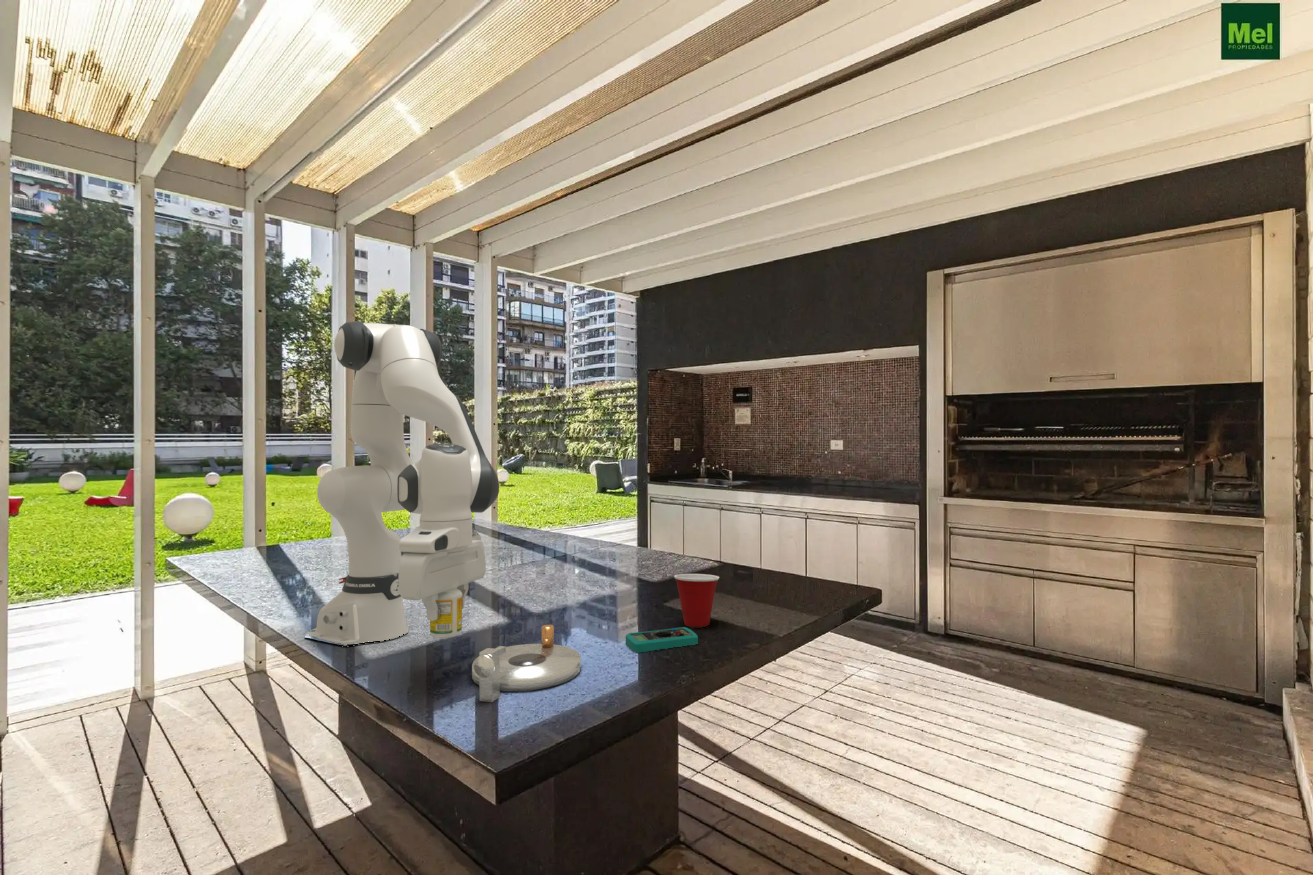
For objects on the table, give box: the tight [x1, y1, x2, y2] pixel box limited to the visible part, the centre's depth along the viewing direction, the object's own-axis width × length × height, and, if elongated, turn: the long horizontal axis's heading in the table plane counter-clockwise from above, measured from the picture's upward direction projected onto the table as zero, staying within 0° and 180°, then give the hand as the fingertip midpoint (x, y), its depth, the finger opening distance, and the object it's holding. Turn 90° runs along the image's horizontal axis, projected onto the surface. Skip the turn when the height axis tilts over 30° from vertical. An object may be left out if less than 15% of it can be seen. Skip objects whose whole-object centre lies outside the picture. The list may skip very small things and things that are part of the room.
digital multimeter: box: [625, 626, 699, 654], centre depth 132 cm, size 7×15×3 cm, turn 110°
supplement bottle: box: [429, 579, 463, 639], centre depth 108 cm, size 5×5×10 cm
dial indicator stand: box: [473, 645, 507, 703], centre depth 104 cm, size 4×6×8 cm, turn 164°
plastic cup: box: [673, 573, 720, 627], centre depth 146 cm, size 11×11×12 cm
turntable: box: [471, 624, 582, 692], centre depth 116 cm, size 20×20×6 cm
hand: (446, 614), depth 108 cm, fingers closed on supplement bottle, 5 cm apart
